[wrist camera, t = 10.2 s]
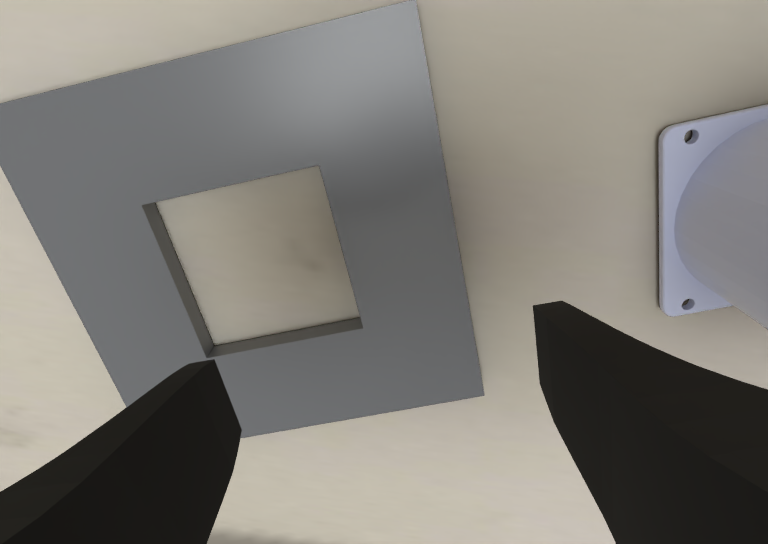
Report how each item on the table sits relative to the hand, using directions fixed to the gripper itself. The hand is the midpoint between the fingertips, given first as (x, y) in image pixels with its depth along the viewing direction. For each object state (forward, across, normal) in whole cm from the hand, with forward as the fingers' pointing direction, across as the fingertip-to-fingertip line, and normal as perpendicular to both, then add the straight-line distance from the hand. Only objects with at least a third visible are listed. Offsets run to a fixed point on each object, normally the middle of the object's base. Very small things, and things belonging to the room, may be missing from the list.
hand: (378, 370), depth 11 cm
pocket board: (+10, +5, 0) cm, 11 cm away
